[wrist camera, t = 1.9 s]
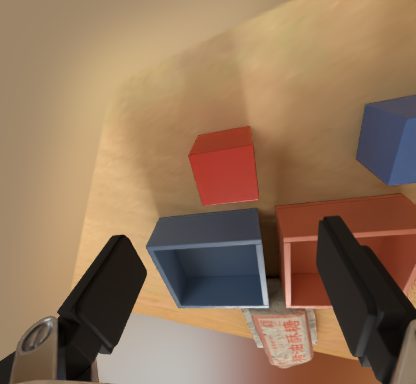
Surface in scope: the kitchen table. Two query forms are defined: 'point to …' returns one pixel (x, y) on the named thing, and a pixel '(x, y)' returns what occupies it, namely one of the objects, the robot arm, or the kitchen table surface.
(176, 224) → the blue bin
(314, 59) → the kitchen table surface
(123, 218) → the kitchen table surface
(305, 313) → the packaged product
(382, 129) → the blue block
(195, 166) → the red block
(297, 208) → the terracotta bin
